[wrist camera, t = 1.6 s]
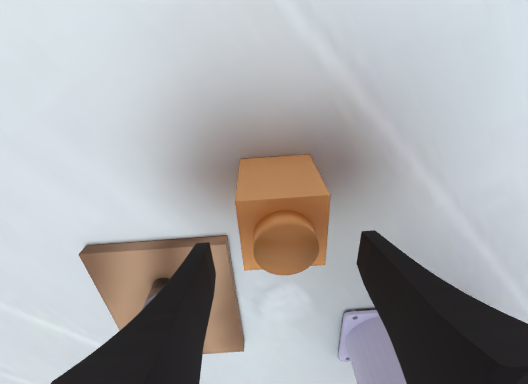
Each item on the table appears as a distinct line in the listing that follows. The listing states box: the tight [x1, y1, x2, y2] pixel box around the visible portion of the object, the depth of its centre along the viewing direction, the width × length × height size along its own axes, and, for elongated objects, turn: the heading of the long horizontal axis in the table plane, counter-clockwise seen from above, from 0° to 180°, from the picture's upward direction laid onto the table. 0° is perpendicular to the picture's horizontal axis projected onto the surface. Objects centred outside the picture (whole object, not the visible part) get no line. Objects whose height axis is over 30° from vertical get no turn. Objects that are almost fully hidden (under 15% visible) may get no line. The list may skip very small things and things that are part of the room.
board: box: [79, 236, 244, 354], centre depth 23 cm, size 11×14×1 cm
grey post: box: [141, 278, 169, 311], centre depth 20 cm, size 2×2×3 cm
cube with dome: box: [235, 154, 330, 275], centre depth 15 cm, size 5×5×7 cm
